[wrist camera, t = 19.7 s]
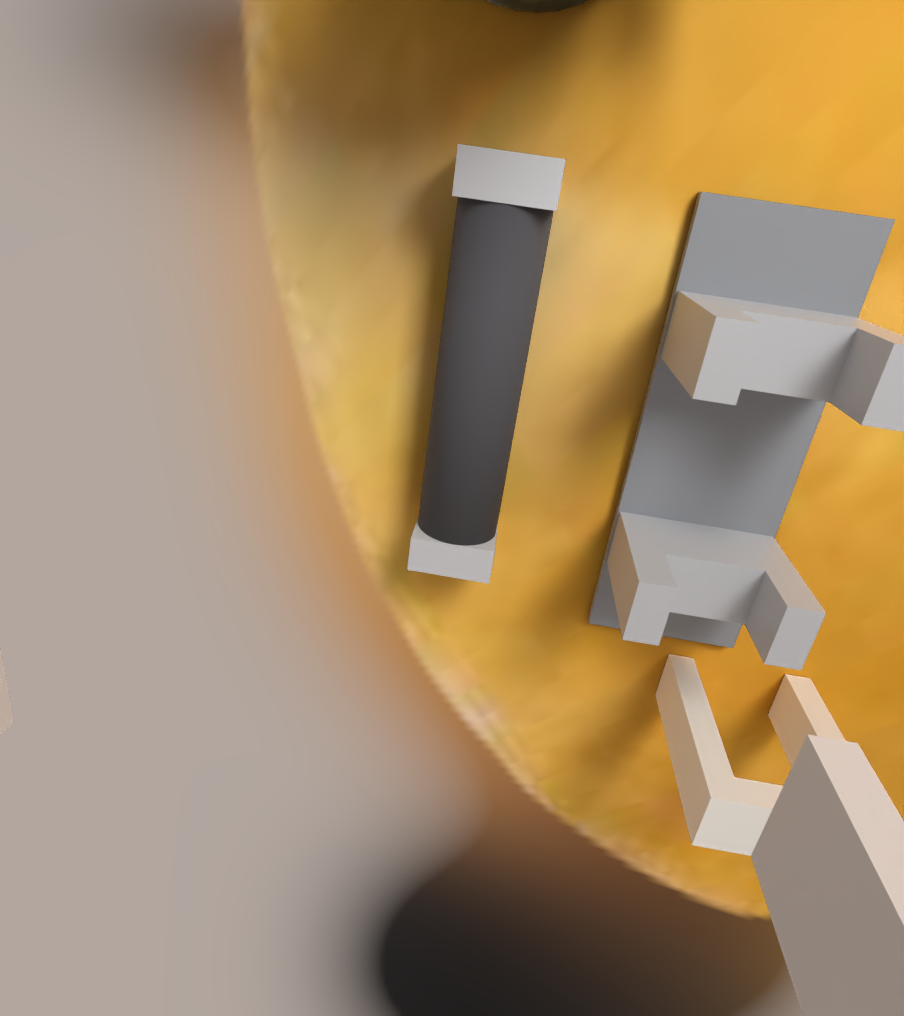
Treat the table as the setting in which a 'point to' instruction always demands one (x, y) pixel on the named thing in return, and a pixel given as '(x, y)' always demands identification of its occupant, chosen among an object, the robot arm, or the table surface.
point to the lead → (482, 354)
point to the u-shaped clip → (703, 761)
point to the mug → (537, 4)
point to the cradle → (744, 423)
